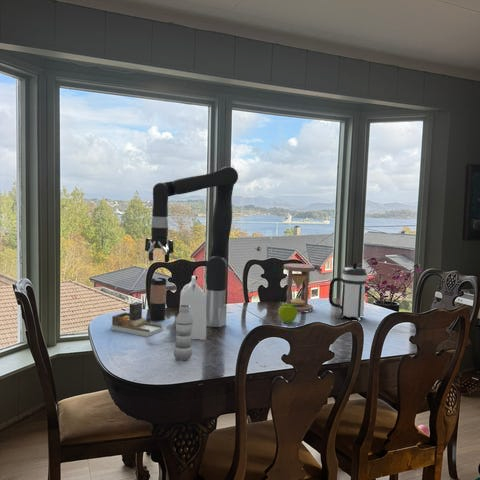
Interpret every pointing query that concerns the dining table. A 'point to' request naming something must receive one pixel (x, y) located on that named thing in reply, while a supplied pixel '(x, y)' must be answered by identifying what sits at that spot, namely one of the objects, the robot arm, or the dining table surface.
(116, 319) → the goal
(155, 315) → the travel mug
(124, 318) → the ball
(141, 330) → the shallow rectangular tray
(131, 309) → the kicker
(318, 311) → the dining table surface
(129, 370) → the dining table surface
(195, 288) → the milk
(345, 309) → the coffee press
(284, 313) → the fruit
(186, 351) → the plastic bottle
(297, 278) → the hourglass
